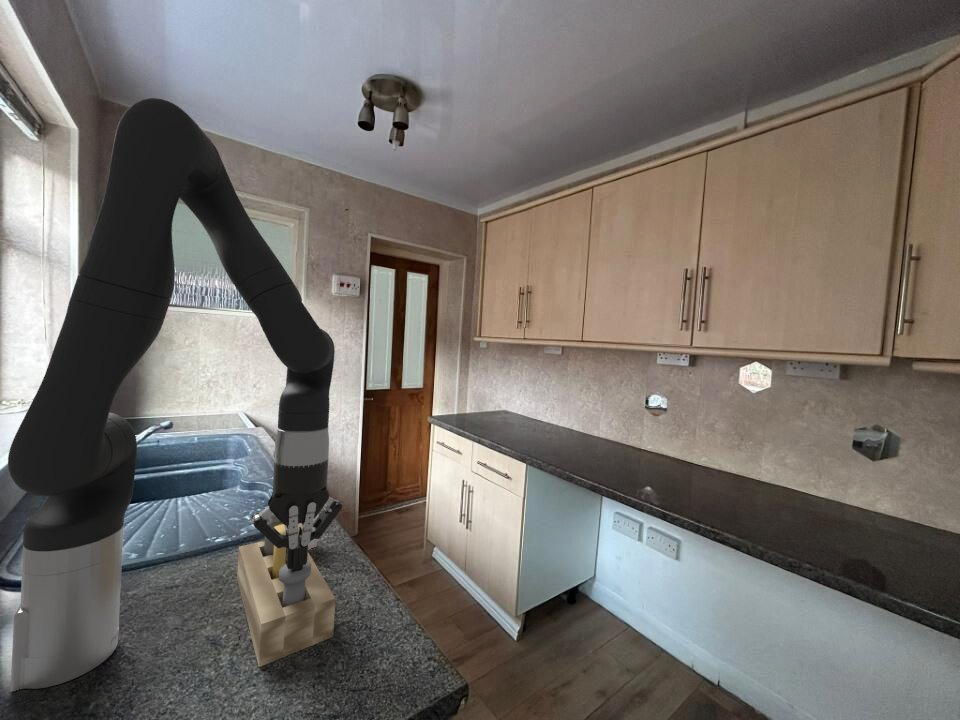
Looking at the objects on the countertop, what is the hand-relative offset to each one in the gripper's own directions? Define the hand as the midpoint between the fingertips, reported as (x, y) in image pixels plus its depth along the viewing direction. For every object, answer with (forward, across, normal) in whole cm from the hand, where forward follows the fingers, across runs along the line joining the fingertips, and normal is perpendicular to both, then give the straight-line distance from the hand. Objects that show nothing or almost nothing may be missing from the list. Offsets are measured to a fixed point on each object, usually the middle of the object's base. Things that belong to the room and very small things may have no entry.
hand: (296, 568), depth 58 cm
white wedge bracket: (+10, +7, +25) cm, 28 cm away
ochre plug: (+6, 0, +8) cm, 10 cm away
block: (+10, 0, +8) cm, 13 cm away
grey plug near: (+9, 0, 0) cm, 9 cm away
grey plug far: (+6, 0, +16) cm, 17 cm away
